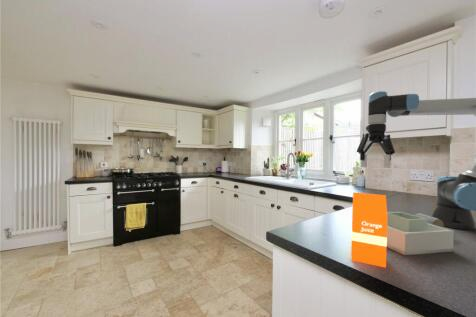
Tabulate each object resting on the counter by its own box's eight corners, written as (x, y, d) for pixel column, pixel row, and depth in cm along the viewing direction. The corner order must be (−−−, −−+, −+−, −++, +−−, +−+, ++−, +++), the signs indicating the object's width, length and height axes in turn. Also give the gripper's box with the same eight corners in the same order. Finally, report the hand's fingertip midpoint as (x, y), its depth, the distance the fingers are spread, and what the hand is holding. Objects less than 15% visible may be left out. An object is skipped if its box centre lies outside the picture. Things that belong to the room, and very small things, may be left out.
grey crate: (402, 232, 91) (403, 216, 90) (453, 251, 73) (453, 230, 73) (361, 234, 87) (362, 217, 86) (404, 255, 69) (405, 233, 69)
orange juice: (350, 250, 72) (352, 190, 71) (382, 256, 68) (384, 193, 67) (351, 260, 65) (353, 194, 64) (386, 268, 61) (388, 197, 60)
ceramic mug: (433, 237, 85) (434, 218, 85) (411, 230, 93) (411, 213, 93) (450, 235, 89) (451, 217, 89) (427, 229, 97) (428, 212, 96)
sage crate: (400, 234, 85) (400, 211, 85) (426, 244, 76) (427, 219, 76) (383, 235, 84) (383, 212, 84) (408, 245, 74) (408, 219, 74)
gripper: (391, 126, 112) (389, 167, 112) (349, 123, 107) (348, 166, 107) (404, 124, 105) (403, 168, 105) (360, 121, 100) (359, 167, 100)
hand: (375, 167), depth 106 cm, fingers open, 13 cm apart
